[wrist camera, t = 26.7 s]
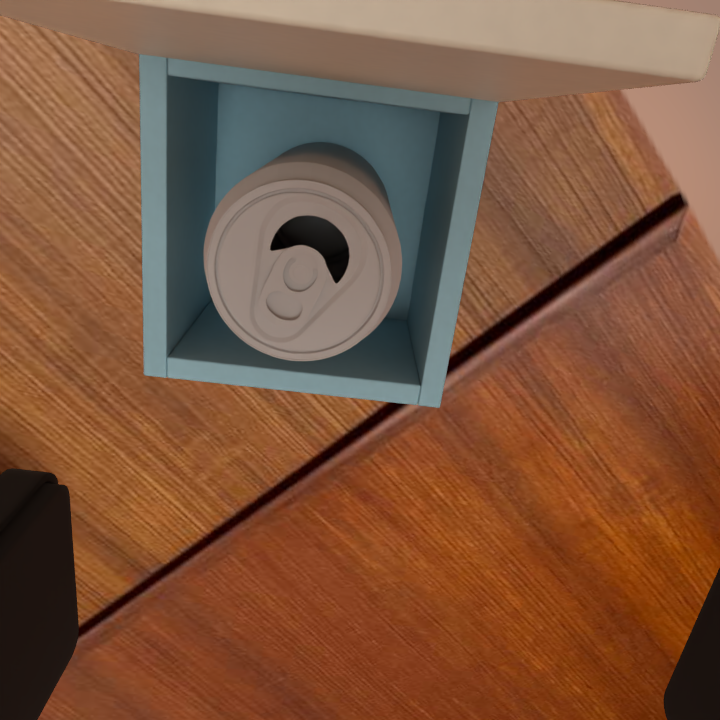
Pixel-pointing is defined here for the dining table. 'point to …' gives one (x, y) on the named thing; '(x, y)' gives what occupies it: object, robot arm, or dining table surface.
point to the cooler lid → (408, 40)
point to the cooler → (257, 148)
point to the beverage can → (304, 254)
